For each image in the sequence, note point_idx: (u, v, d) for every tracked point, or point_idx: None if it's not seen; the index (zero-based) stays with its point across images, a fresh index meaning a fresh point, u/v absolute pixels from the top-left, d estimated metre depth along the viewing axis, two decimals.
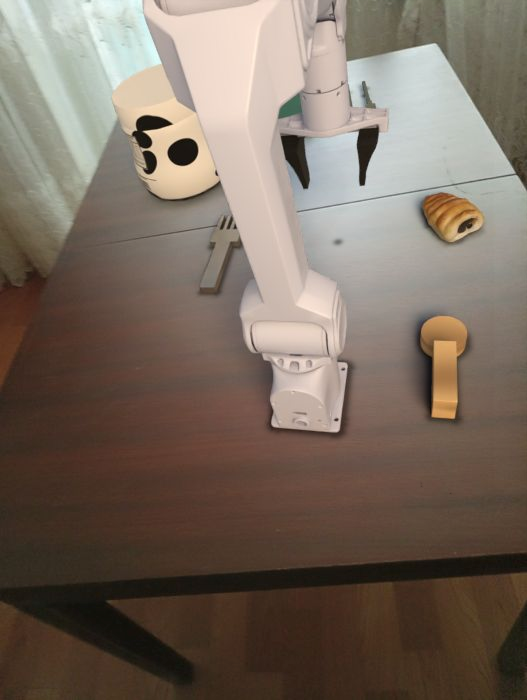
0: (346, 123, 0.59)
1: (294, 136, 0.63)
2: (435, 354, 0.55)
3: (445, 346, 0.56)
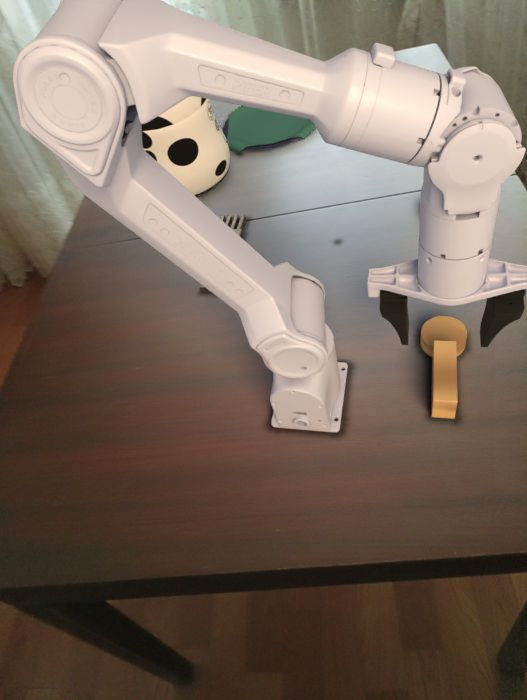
0: (482, 287, 0.43)
1: None
2: (435, 354, 0.55)
3: (445, 346, 0.56)
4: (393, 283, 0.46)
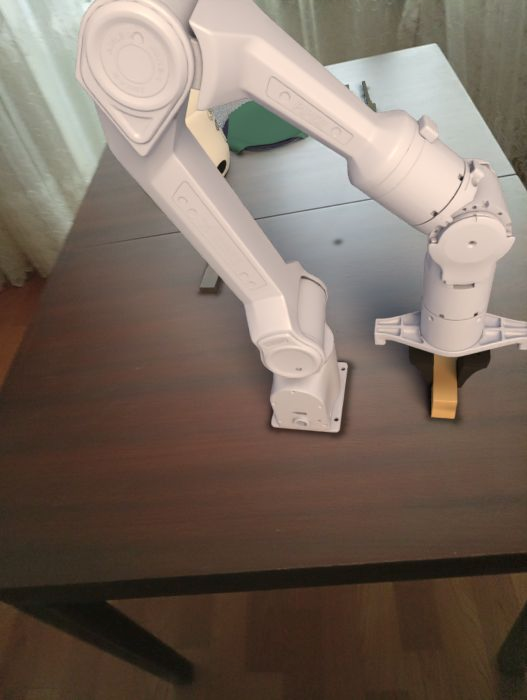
0: (479, 341, 0.47)
1: None
2: (435, 354, 0.56)
3: None
4: (398, 333, 0.50)
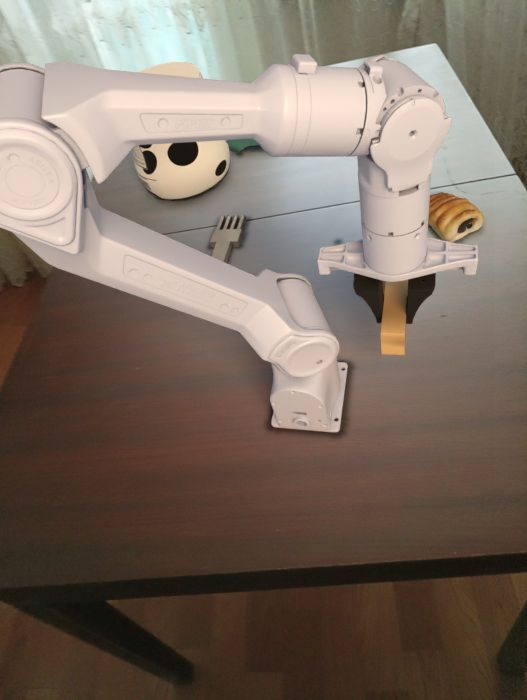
0: (422, 264, 0.45)
1: None
2: (386, 290, 0.54)
3: (397, 282, 0.54)
4: (341, 261, 0.48)
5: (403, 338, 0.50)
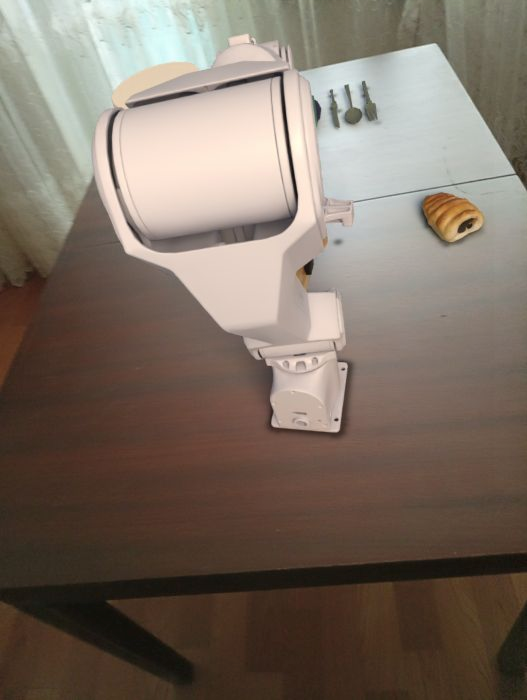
0: None
1: None
2: None
3: None
4: None
5: None
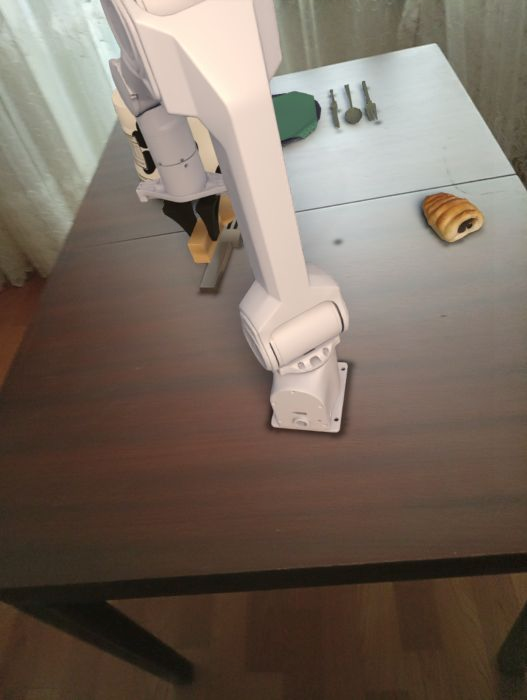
0: (200, 189, 0.64)
1: None
2: None
3: None
4: None
5: (203, 247, 0.69)
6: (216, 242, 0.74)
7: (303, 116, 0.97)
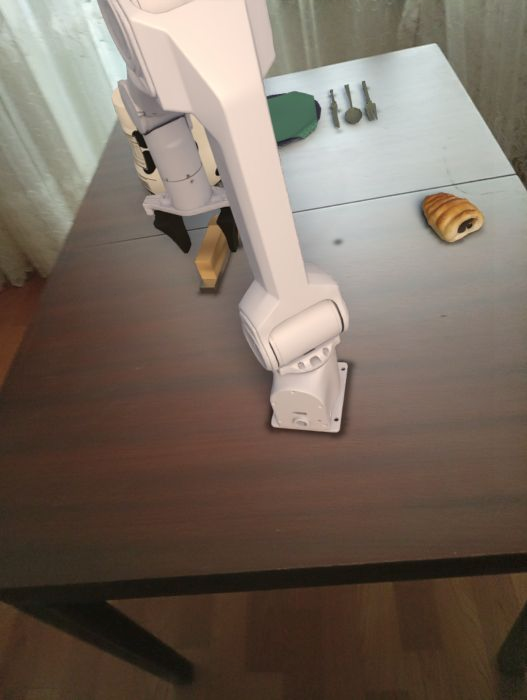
0: (206, 203, 0.66)
1: None
2: (206, 234, 0.75)
3: (215, 228, 0.76)
4: None
5: (210, 265, 0.72)
6: (222, 258, 0.76)
7: (303, 116, 0.97)
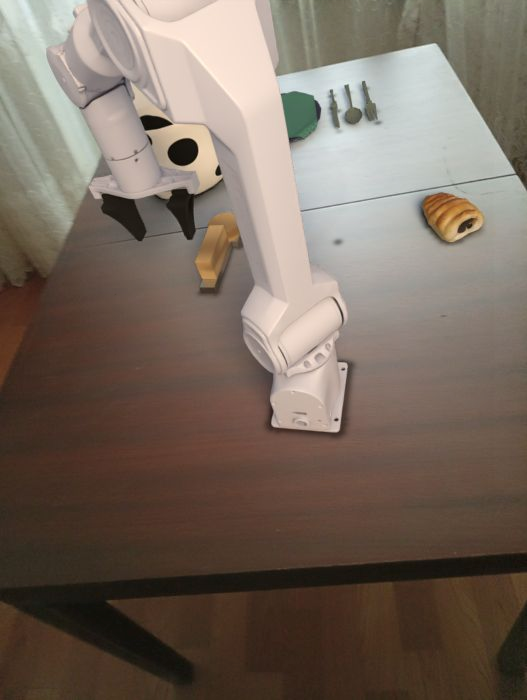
0: (154, 185, 0.61)
1: (114, 194, 0.64)
2: (206, 234, 0.75)
3: (215, 228, 0.76)
4: None
5: (210, 265, 0.72)
6: (222, 258, 0.76)
7: (303, 116, 0.97)
